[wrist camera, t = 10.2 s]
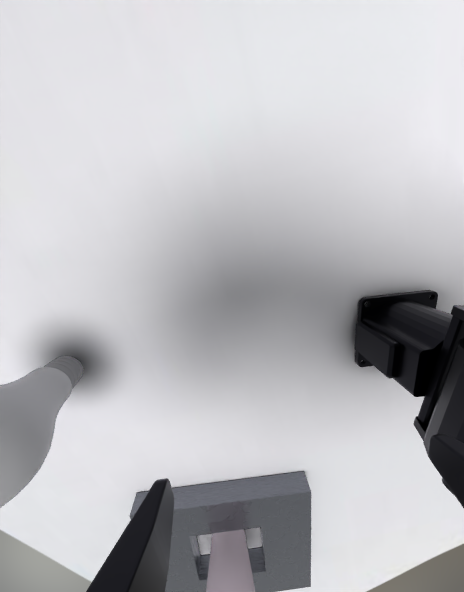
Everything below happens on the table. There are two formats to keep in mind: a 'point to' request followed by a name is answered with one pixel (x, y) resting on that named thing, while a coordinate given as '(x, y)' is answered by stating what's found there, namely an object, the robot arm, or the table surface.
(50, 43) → the table surface
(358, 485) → the table surface
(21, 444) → the lightbulb
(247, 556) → the smoothie
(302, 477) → the square plate with hole
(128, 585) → the robot arm
